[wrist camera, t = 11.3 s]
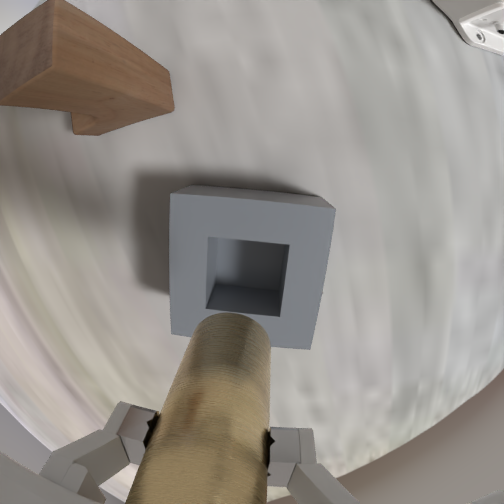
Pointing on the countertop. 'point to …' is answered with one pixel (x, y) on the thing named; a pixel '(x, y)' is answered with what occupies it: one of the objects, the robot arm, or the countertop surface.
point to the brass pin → (212, 421)
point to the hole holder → (249, 259)
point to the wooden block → (80, 71)
